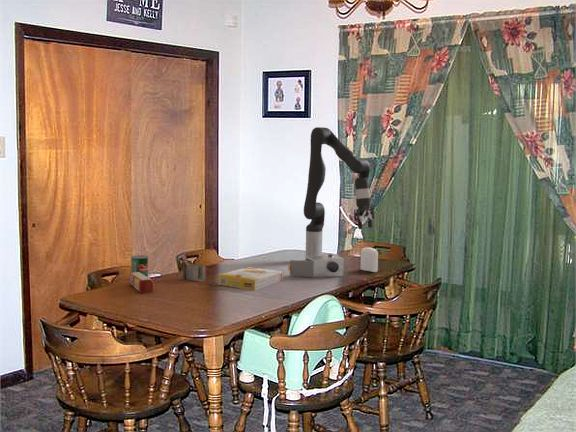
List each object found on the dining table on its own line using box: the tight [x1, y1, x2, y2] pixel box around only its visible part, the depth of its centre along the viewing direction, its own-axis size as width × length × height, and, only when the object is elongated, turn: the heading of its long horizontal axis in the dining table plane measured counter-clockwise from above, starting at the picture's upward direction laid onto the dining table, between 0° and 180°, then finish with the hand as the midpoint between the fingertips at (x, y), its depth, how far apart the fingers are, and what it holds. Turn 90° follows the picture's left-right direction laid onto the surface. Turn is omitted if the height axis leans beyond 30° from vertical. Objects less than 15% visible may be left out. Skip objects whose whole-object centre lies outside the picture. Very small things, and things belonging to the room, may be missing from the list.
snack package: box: [128, 272, 155, 295], centre depth 321 cm, size 21×7×7 cm, turn 25°
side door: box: [287, 259, 314, 278], centre depth 356 cm, size 12×2×8 cm, turn 78°
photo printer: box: [360, 246, 379, 273], centre depth 377 cm, size 10×4×12 cm, turn 39°
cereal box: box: [217, 266, 284, 291], centre depth 339 cm, size 20×6×28 cm
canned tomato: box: [130, 254, 149, 278], centre depth 343 cm, size 8×8×11 cm
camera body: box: [306, 253, 345, 278], centre depth 363 cm, size 14×16×10 cm
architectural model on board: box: [182, 260, 206, 282], centre depth 344 cm, size 11×3×10 cm, turn 63°
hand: (365, 228), depth 377 cm, fingers open, 8 cm apart
